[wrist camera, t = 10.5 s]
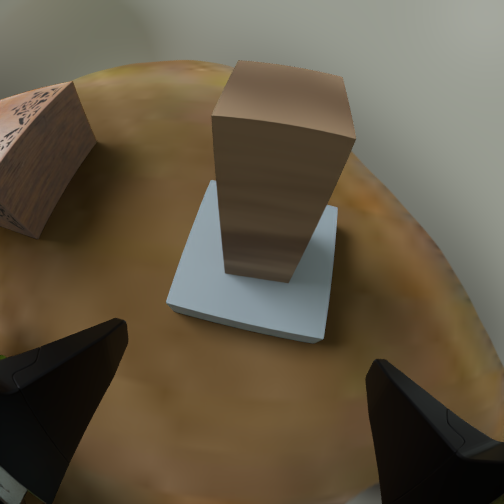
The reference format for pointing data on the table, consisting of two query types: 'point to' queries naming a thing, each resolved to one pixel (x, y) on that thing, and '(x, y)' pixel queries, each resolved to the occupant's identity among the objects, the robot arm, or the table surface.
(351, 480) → the table surface
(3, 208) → the tissue box cover
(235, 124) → the walnut block
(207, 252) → the slate base
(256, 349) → the table surface
